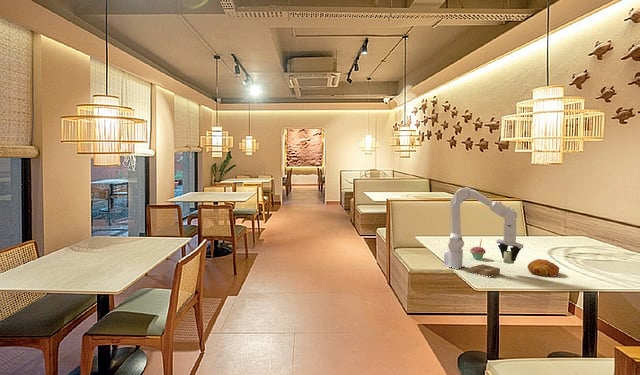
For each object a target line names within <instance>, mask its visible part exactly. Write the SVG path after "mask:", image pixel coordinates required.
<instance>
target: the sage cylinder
mask: <svg viewBox="0 0 640 375" xmlns="http://www.w3.org/2000/svg"><path fill="white" fill-rule="evenodd" d="M511 257H512V255H511V250H507V251H504V259H503V263H504V264H510V265H511V264H512V265H514V264H515V261H512V259H511Z"/></svg>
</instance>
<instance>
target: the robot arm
mask: <svg viewBox="0 0 640 375" xmlns="http://www.w3.org/2000/svg"><path fill="white" fill-rule="evenodd" d="M466 200H476V201H478V202H480V203H482V204H483V205H486V206H487V207H489V210H490V211H491V212H493V213H495V214H496V215H498V216H500V217H501V218H503V219H504V223H503V239H500V238H498V239H496V244H498V245H497V246H498V249H499V250H500V253H501V258H502V259H503V260H504V251H508V249H510V251H511V255H512V257H511V259H512V261H514V262H516V260H517V257H518V255H519V253H520V251H521V250H522V249H524V244H523V243H520V242H517V218H518V212H517V211H516V210H515V209H514V208H513V209H512V208H511V207H510V206H507V205H504V203H503V202H502V201H493V200H491V199H489V198H488V197H486V196H485V195H484V194H482V193H480V192H479V191H477V190H475V189H472V188H471V187H469V186H465V187H460V188H458V189H457V190H456V191H455V192H454V194H453V196H452V198H451V199H450V202H449V203H450V204H449V210H450V212H449V213H450V236H449V240H448V243H447V246H448V247H447V248H448V249H445V250H444V254H443V264H442V266H443V267H448V268H451V267H452V268H451V269H454V268H455V270H459V268H460V269H462V268H461V267H464V268H466V267H465V266H466V265H463V263H464V261H463V259H464V258H463V257H464V256H463V255H464V254H463V250H464V249H463V247H464V245H465V242H464V240H463V235H462V233H461V231H462V230H461V205H462V203H464V202H465V201H466ZM502 203H503V204H502ZM509 247H510V248H509ZM462 265H463V266H462ZM450 266H451V267H450Z"/></svg>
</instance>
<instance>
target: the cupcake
mask: <svg viewBox="0 0 640 375" xmlns="http://www.w3.org/2000/svg"><path fill="white" fill-rule="evenodd" d="M479 241H480V242H479V246H473V247H471V248H470V250H469V252H470V254H471V255H472V258H473V259H474V258H475V259H474V260H477V259H481V260H483V257H484V255H485V254H486V249H485V248H483V247H481V246H482V238H481V239H480V240H479Z"/></svg>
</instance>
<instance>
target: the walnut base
mask: <svg viewBox="0 0 640 375" xmlns="http://www.w3.org/2000/svg"><path fill="white" fill-rule="evenodd" d="M471 272H472V274H474V273H477V274H476V275H478V274H480V275H479V276H482V275H485V276H484V277H486V276H488V277H487V278H490V277H489V276H491V277H493V276H492V275H494V276H497V274H498V275H500V274H501V268H500V267H497V266H491V265H487V264H483V263H482V264H478V265H474V266H471V269H470V273H471Z"/></svg>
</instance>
